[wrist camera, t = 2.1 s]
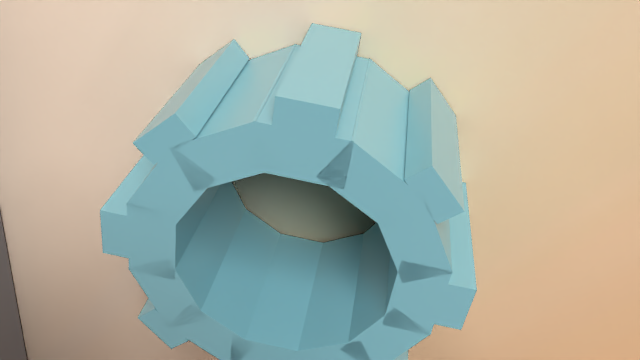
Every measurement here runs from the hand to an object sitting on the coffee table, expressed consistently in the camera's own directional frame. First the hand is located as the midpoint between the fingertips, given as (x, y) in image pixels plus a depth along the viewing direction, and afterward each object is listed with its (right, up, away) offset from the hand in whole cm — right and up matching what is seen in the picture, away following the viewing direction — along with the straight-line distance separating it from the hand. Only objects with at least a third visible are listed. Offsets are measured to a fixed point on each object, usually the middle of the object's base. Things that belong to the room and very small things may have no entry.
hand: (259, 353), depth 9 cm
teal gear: (+1, +3, +4) cm, 5 cm away
